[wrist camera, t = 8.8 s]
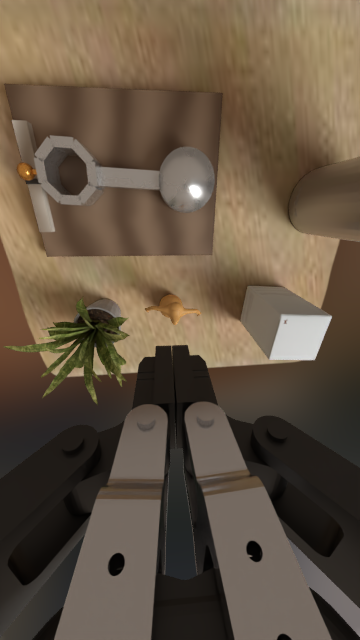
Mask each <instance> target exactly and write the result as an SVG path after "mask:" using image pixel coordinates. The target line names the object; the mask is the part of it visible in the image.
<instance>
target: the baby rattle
mask: <svg viewBox="0 0 360 640" xmlns="http://www.w3.org/2000/svg"><path fill="white" fill-rule="evenodd" d="M34 155H35V156H36V157H37V158H34V162H35V167H36V170H35V169H33V168H32V166H30V165H29V164H27V163H24V162H23V163H19V164H18V166H17V172H18V174H19V176H20V177H21V178H23V179H25V180H32V179H34V177H35V175H37V177H38V182H39V183H42V184H41V185H40V186H41V187H42V188H43V189H44V190H45V191H46V192H47V193H48V194H49V195H50V196H52V197H53V198H54V199H55V200H56V201H57V202H58V203H61V204H66V205H82V206H91V205H93V204H94V203H95V202H96V201H97V200H98V198H99V197H100V196H101V195H102V194H103V193H104V191H103V190H102V189H105V187H110V188H126V189H143V190H159V191H160V193H161V196H162V198H163V200H164V201H165V203H166V204H167V205H168V206H169V207H170V208H171V209H173V210H175V211H178V212H183V213H189V212H194V211H196V210H198V209H200V208H202V207H203V206H204V205H205V204H206V203H207V202H208V200H209V199H210V197H211V195H212V192H213V189H214V183H215V176H214V170H213V167H212V164H211V162H210V160H209V159H208V158H207V156H206V155H205V154H204V153H203V152H201V151H200V150H198V149H196V148H193V147H180V148H177V149H175V150H174V151H172V152H171V153H170V154H169V155H168V156H167V157H166V158H165V160H164V161H163V163H162V165H161V168H160V171H153V170H139V169H124V168H110V167H101V166H102V165H101V164H100V163H99V161H98V160H97V159H96V158H95V157H94V156H93V155H92V154H91V152H90V151H89V150H88V149H87V148H86V147H85V146H84V145H82V144H81V143H80V142H79V141H78V140H77V139H74V138H73V137H64V136H52V135H50V138H49V137H46V139H45V140H44V142H43V143H42V144H41V146H40V147H39V149H38V150H37V151H36V153H35V154H34ZM67 155H72V156H79V157H80V158H81V159H82V160H83V161H84V162H85V163H86V167H87V176H88V184H87V185H86V187H85V188H84V189H83V190H82V192H81V193H80V194H79V195H78V196H74V195H71V194H70V193H69V192H68V191H67V190H66V189H65V188H64V187H63V186H62V185H61V181H60V175H59V168H58V167H59V166H60V164H61V163H62V162H63V160H64V159H65V158H66V157H67Z"/></svg>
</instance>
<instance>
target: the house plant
mask: <svg viewBox="0 0 360 640" xmlns="http://www.w3.org/2000/svg"><path fill="white" fill-rule="evenodd" d="M76 309H77V311H78V314H77V315H76V317H75V319H74V323H71V322H59V323H54V325H55V326H56V327H51V328H48V329H42V330H48V332H49V334H50V336H49V337H44V338H39V339H54V340H58V341H54V342H50V343H44V344H34V345H29V346H22V347H19V346H7V347H5V348H9V349H13V350H17V351H23V352H40V351H50V352H52V353H63V352H65V353H64V354H63V355H62V356H61V357H60V358H58V359H57V360H56V361H55V362H54V363H53V364H52V365H51V366H50V367H49V368H48V369H47V371H46V372H45V373H44V374H43V375H42V376H41V377H43V376H45V375H47V374H48V373H50V372H51V371H52V370H53V369H55V368H56V367H57V366H58V365H59V364H60V363H61V362H62V361H63V360H65V359H66V357H67V356H68V355H69V354H70V353H71V352H72V350H73V349H74V348H75V347H76V346H77V345H78V344H79V343H81V344H80V346H79V347H78V349H77V350H76V351H75V353H74V354H73V355H72V356H71V357H70V358H69V359H68V360H67V361H66V363H65V364H64V366H63V367H62V368H61V369H60V371H59V374H58V375H57V376H56V377H55V378H54V380H53V381H52V383H51V385H50V387H49V388H48V389H47V391H46V392H45V394H44V396H46V395H47V394H49V393H50V392H51V391H52V390H53V389H55V388H56V387H57V386H58V385H59V384H60V383H61V382H62V381H63V380H64V378H65V377H66V376H67V375H68V374H69V373H70V372H71V371H72V370H73V369H74V367H76V368H81V367H83V365H84V380H85V385H86V387H87V389H88V391H89V392H90V394H91V396H92V398H93V400H94V401H95V402H96V403H97V398H96V394H95V390H94V386H93V381H92V374H93V375H94V376H95V377H96V378H97V379H98V380H99V381H100V379H99V378H98V377H97V375H96V374H95V372H94V371H93V357H94V347H97V352H98V356H99V358H100V360H101V362H102V364H103V365H105V368H106V371H107V373H108V375H109V376H110V378H111V372H112V373H114V374H115V375H116V376H117V379H118V381H119V383H120V385H121V386H122V380H125V378H124V377H123V376H122V374H121V365H125V364H126V361H125V360H124V359H123V358H122V357H121V356H120V355H119V354H117V352H116V349H115V347H114V345H113V343H114V342H117V341H118V340H123V339H125V338H126V337H127V336H129V335H128V334H126V333H124V332H122V331H121V325H122V324H123V323H124V322H125V321H126V320H127V319H128V318H122V317H121V311H120V308H119V306H118V305H117V304H116V303H115V302H114V301H112V300H109V299H101V300H98V301H96V302H94V303H92V304H91V305H89V306H88V307H85V305H84V302H83V298H82V299H81V300H80V301H79V302H77V305H76ZM120 334H121V335H120ZM77 338H78V339H77ZM75 339H77V340H76V341H75V342H74V343H73V344H72V345H71V346H70V347H68V348H65V349H55V348H57V347H60V346H62V345H64V344H66V343H69V342H71V341H73V340H75ZM107 347H108V348H107ZM108 350H109V351H108ZM109 353H110V354H109ZM110 355H111V356H110ZM110 371H111V372H110ZM121 379H122V380H121ZM125 381H126V380H125ZM97 404H98V403H97Z"/></svg>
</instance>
